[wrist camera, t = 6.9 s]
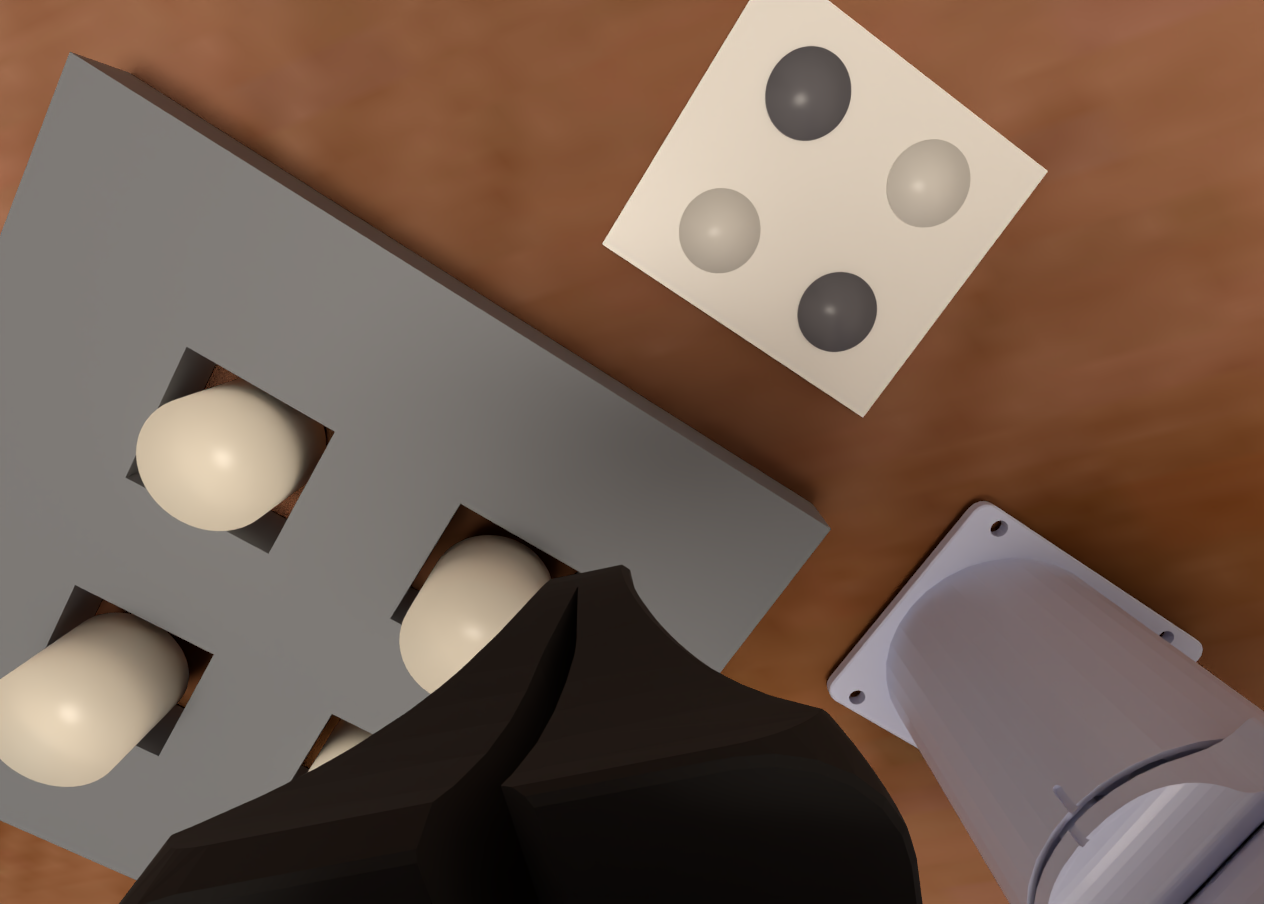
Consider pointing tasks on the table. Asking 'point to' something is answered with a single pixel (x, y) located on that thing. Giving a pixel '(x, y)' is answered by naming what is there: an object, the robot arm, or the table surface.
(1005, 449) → the table surface
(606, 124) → the table surface
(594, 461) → the board
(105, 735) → the button
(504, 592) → the button
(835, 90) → the card
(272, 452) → the button
